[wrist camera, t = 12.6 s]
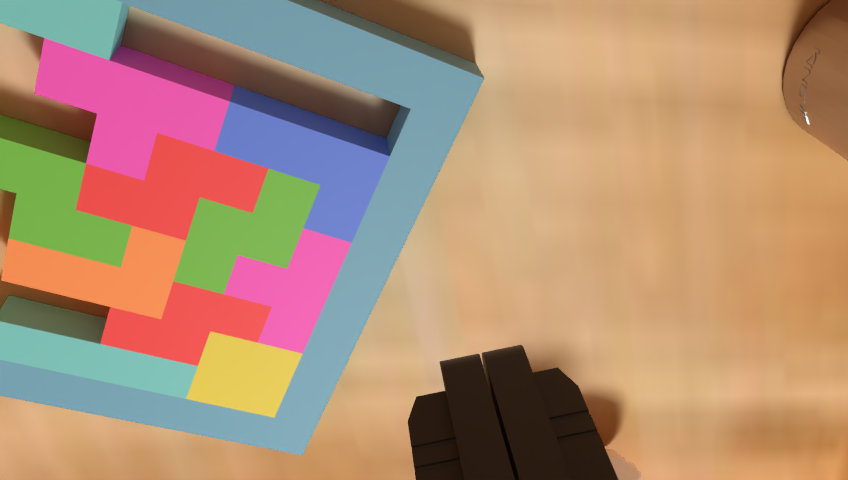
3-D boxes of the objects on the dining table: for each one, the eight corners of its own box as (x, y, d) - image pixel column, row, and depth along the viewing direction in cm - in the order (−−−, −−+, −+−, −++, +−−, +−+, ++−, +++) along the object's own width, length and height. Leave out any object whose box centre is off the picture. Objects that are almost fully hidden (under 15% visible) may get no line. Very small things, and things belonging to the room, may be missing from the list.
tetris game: (474, 60, 38) (-131, -184, 30) (484, 78, 36) (-169, -181, 27) (302, 424, 51) (-159, 326, 42) (302, 455, 48) (-187, 358, 40)
